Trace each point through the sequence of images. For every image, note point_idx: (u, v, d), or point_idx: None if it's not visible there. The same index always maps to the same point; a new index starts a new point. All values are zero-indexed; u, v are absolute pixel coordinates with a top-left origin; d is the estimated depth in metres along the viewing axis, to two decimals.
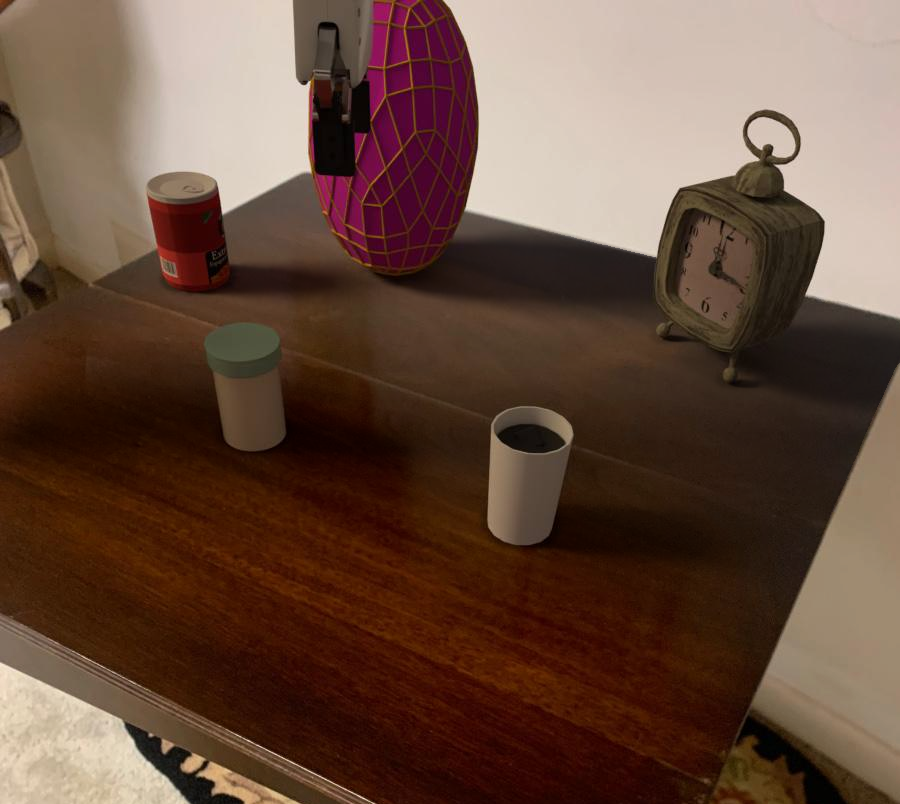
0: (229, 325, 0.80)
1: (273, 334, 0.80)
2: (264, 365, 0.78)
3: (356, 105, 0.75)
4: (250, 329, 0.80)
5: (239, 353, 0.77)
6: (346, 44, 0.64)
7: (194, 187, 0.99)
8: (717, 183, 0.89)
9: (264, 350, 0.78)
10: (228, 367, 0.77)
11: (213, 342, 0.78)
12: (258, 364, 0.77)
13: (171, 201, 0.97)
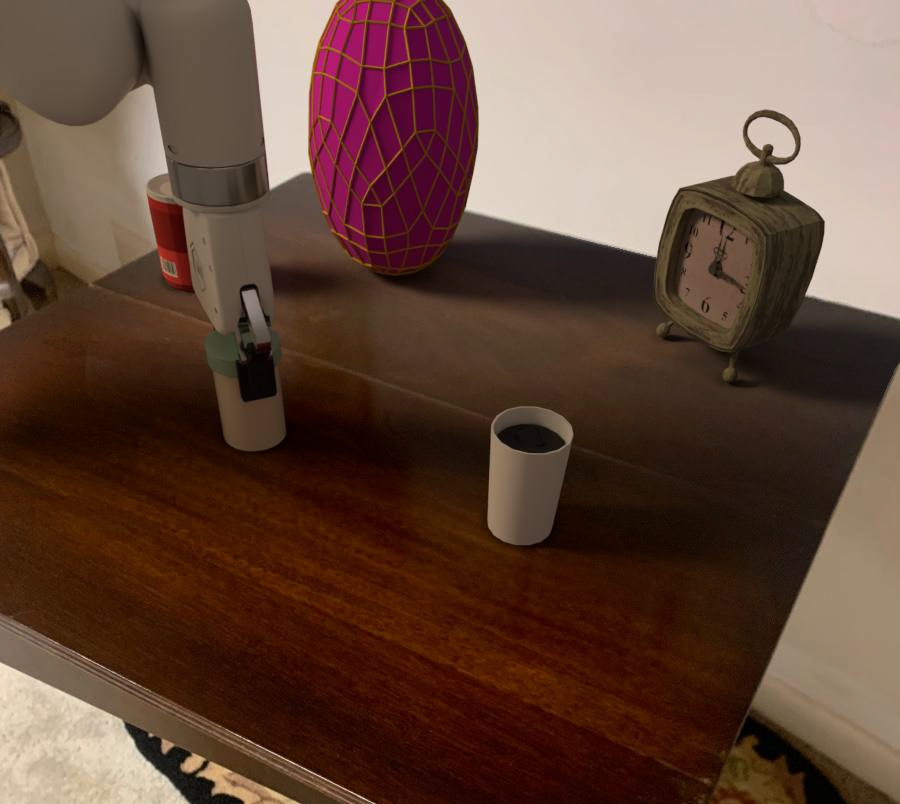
0: None
1: (273, 334, 0.80)
2: None
3: None
4: None
5: None
6: (265, 297, 0.71)
7: None
8: (717, 183, 0.89)
9: None
10: (228, 367, 0.77)
11: (213, 342, 0.78)
12: None
13: (171, 201, 0.97)
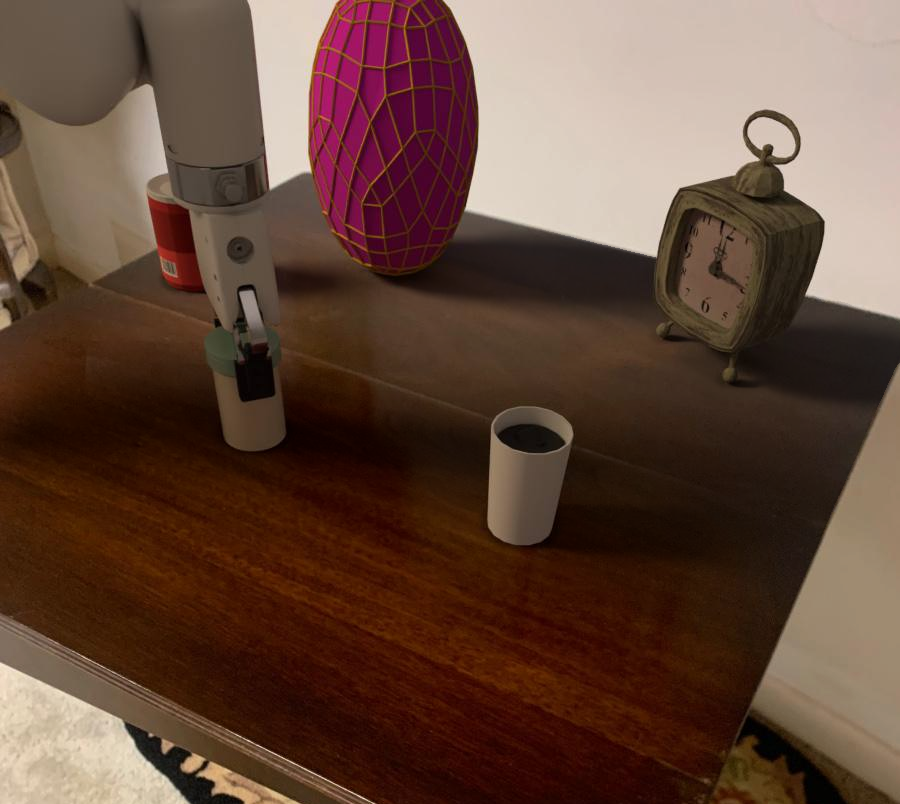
0: None
1: (209, 346, 0.78)
2: None
3: None
4: (232, 352, 0.77)
5: None
6: None
7: None
8: (717, 183, 0.89)
9: (221, 330, 0.80)
10: None
11: (270, 340, 0.79)
12: None
13: (171, 201, 0.97)
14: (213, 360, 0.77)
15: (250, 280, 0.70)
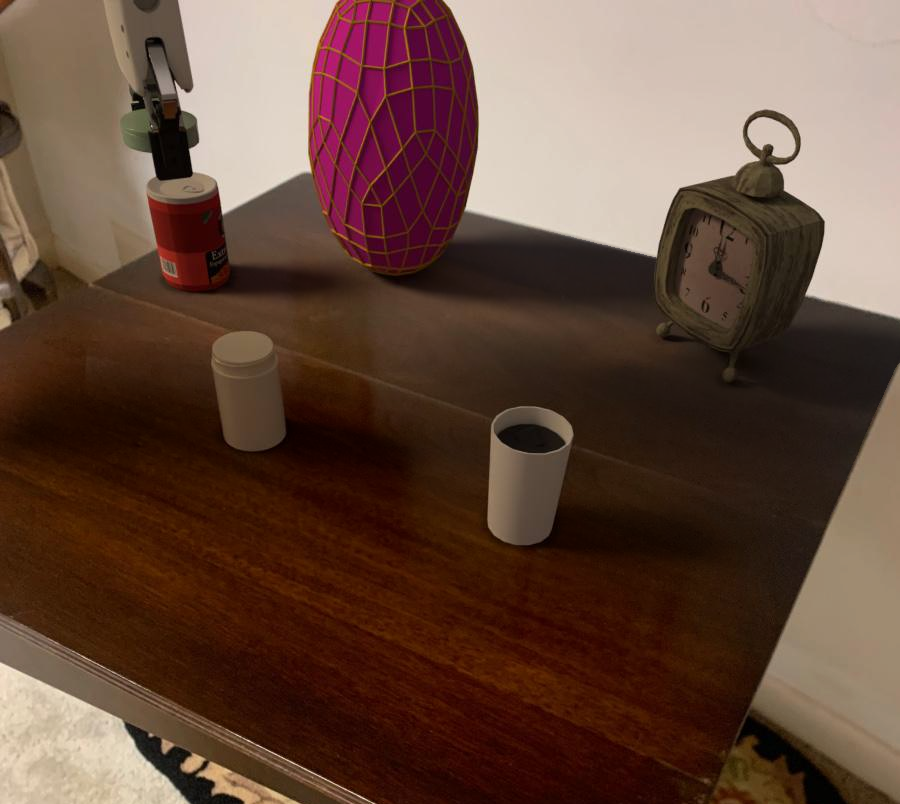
0: None
1: (125, 123, 0.78)
2: None
3: None
4: (148, 127, 0.77)
5: None
6: None
7: (194, 187, 0.99)
8: (717, 183, 0.89)
9: (138, 112, 0.80)
10: None
11: (187, 120, 0.79)
12: None
13: (171, 201, 0.97)
14: (129, 136, 0.77)
15: (158, 32, 0.70)
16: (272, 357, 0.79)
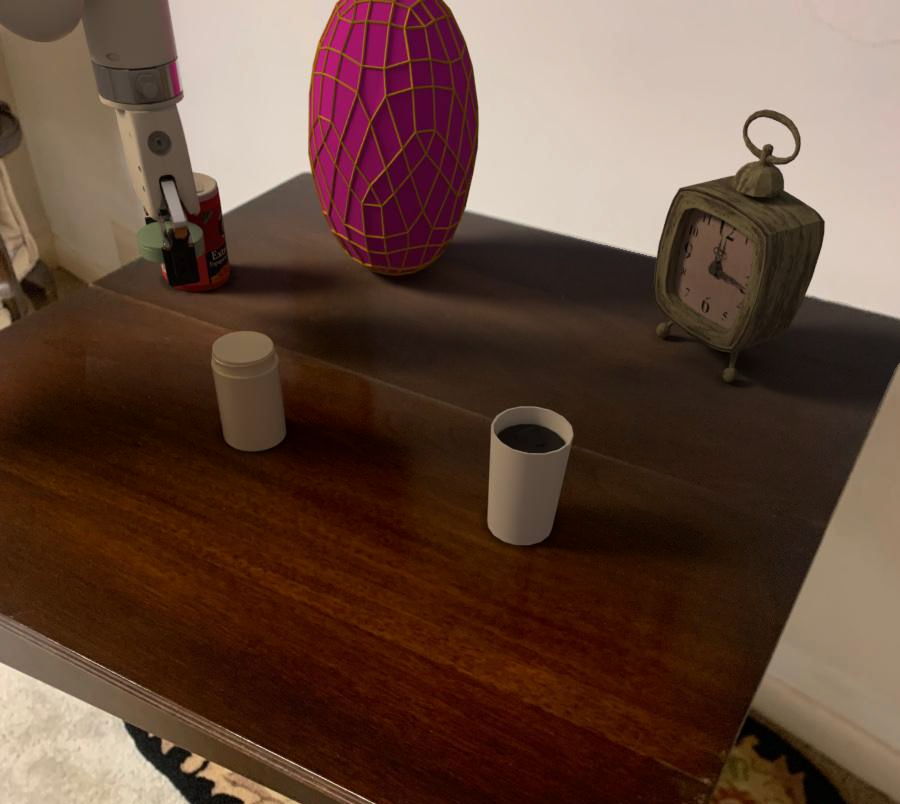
0: None
1: (141, 238, 0.90)
2: None
3: None
4: (161, 242, 0.89)
5: None
6: None
7: None
8: (717, 183, 0.89)
9: (151, 226, 0.92)
10: None
11: (194, 233, 0.91)
12: None
13: None
14: (144, 249, 0.89)
15: (170, 171, 0.82)
16: (272, 357, 0.79)
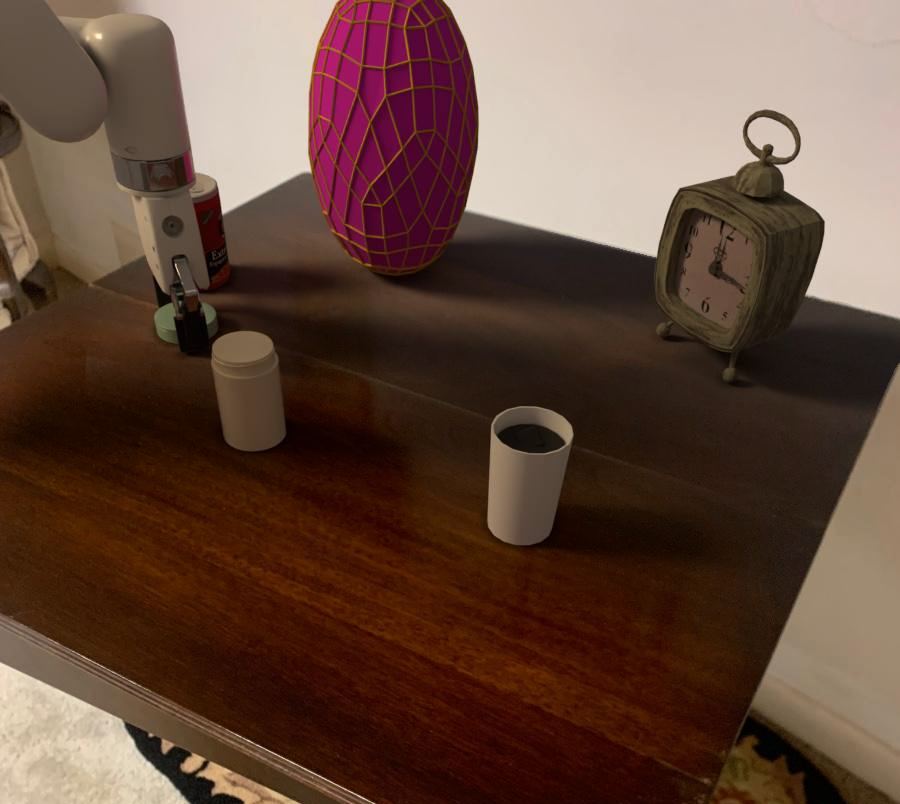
0: None
1: (158, 320, 0.96)
2: None
3: None
4: None
5: None
6: None
7: (194, 187, 0.99)
8: (717, 183, 0.89)
9: (168, 307, 0.98)
10: None
11: (208, 314, 0.98)
12: None
13: None
14: (162, 331, 0.96)
15: (181, 246, 0.87)
16: (272, 357, 0.79)
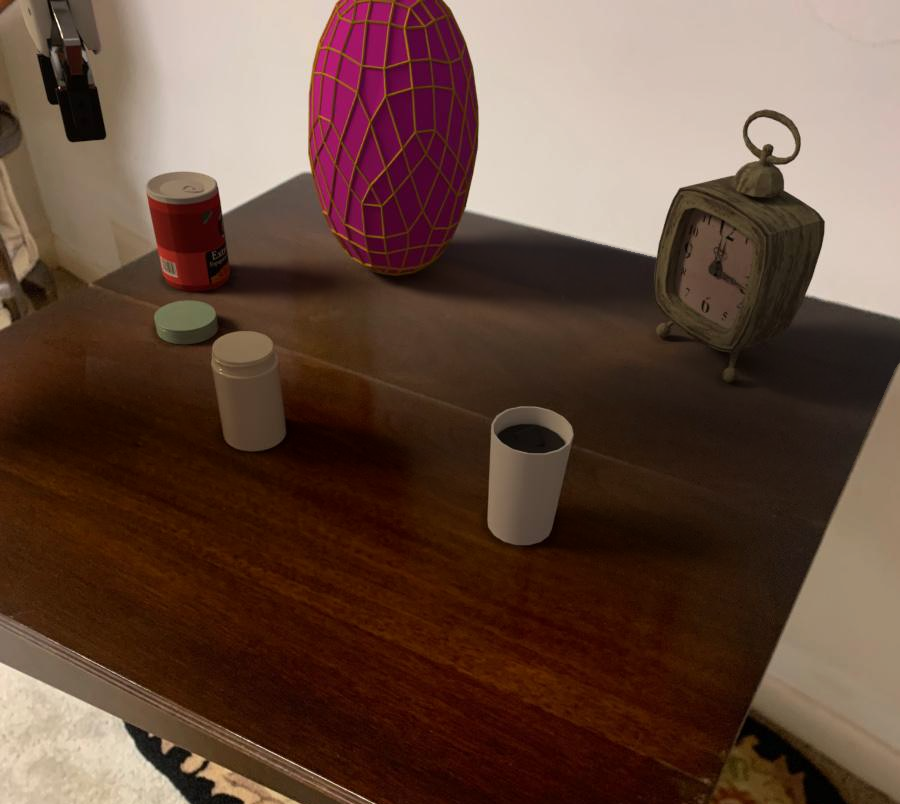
0: (194, 327, 0.96)
1: (158, 320, 0.96)
2: None
3: None
4: (177, 324, 0.96)
5: (188, 305, 0.99)
6: None
7: (194, 187, 0.99)
8: (717, 183, 0.89)
9: (168, 307, 0.98)
10: None
11: (208, 314, 0.98)
12: None
13: (171, 201, 0.97)
14: (162, 331, 0.96)
15: None
16: (272, 357, 0.79)
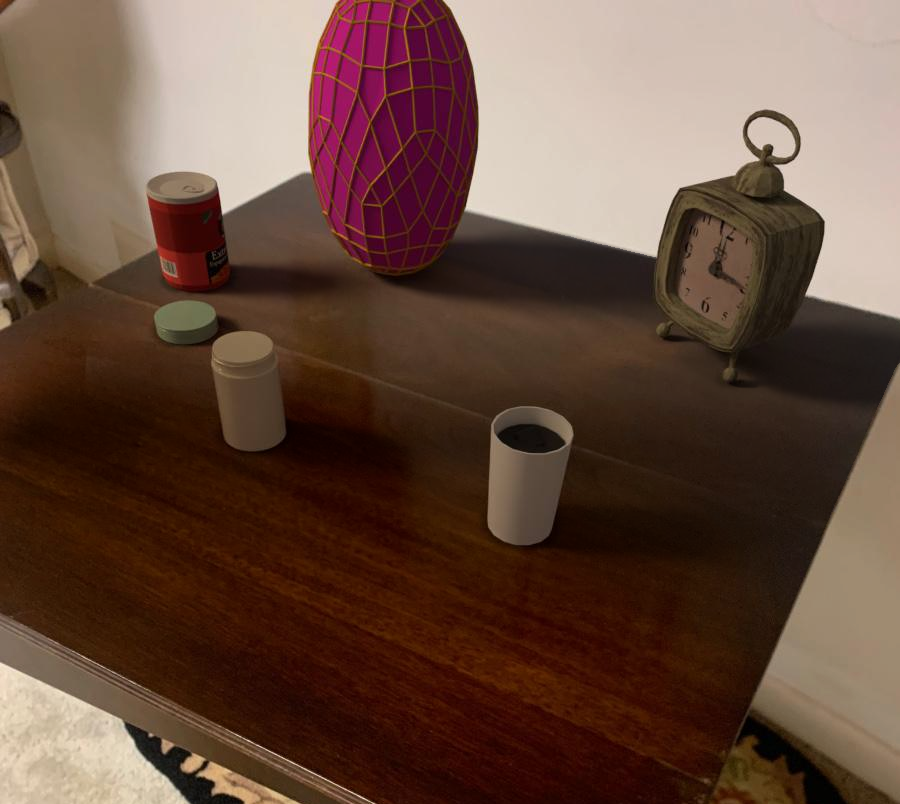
0: (194, 327, 0.96)
1: (158, 320, 0.96)
2: None
3: None
4: (177, 324, 0.96)
5: (188, 305, 0.99)
6: None
7: (194, 187, 0.99)
8: (717, 183, 0.89)
9: (168, 307, 0.98)
10: None
11: (208, 314, 0.98)
12: None
13: (171, 201, 0.97)
14: (162, 331, 0.96)
15: None
16: (272, 357, 0.79)
